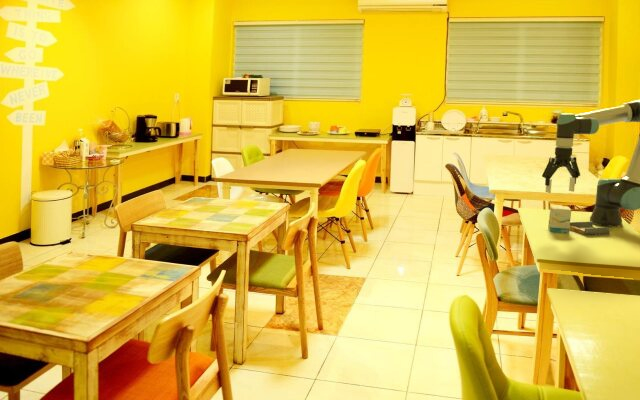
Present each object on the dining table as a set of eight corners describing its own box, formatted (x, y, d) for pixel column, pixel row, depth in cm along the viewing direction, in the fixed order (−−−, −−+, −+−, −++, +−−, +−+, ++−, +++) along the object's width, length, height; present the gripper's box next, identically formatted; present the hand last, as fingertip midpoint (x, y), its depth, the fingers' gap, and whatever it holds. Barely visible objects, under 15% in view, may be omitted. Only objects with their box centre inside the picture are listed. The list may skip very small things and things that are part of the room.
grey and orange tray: (591, 228, 308) (591, 221, 307) (609, 234, 296) (610, 227, 295) (568, 229, 305) (568, 222, 304) (585, 235, 292) (586, 228, 292)
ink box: (569, 234, 295) (572, 209, 293) (550, 232, 297) (553, 208, 294) (566, 229, 303) (568, 206, 301) (547, 228, 305) (550, 204, 303)
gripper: (579, 145, 299) (575, 189, 303) (536, 146, 291) (532, 191, 295) (591, 147, 292) (586, 191, 296) (547, 148, 284) (543, 194, 288)
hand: (559, 191), depth 296 cm, fingers open, 13 cm apart
